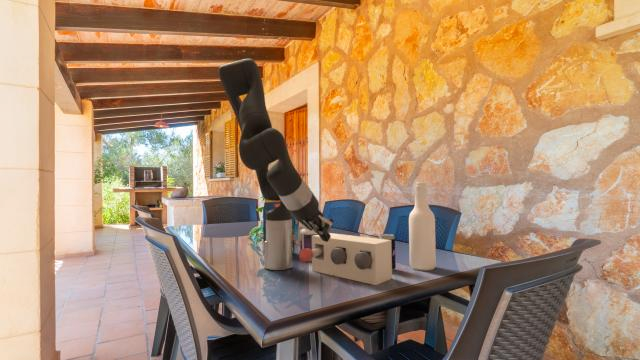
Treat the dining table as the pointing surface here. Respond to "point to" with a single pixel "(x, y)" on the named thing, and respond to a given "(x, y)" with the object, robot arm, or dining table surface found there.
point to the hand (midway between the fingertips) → (327, 238)
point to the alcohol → (422, 232)
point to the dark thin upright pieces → (267, 207)
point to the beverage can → (391, 237)
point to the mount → (354, 245)
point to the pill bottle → (306, 238)
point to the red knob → (310, 253)
